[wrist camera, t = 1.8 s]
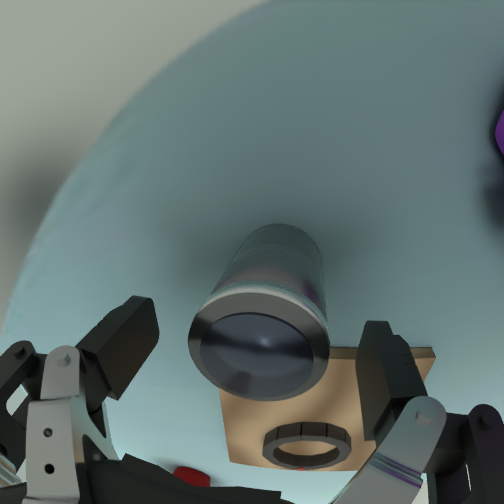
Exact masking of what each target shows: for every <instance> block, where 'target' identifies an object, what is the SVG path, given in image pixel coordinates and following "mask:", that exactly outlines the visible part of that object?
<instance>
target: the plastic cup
mask: <svg viewBox="0 0 504 504" xmlns="http://www.w3.org/2000/svg"><path fill="white" fill-rule="evenodd" d="M173 475H175V476H176V477H178V478H180V479H182V480H184V481H185V482H187V483H189V484H191V485H194V486H203V487H210V477H209V476H207V475H206V474H204V473H202V472H200V471H197V470H195V469H191V468H188V467H178V468H177V469H176V470H175V471H174V472H173Z"/></svg>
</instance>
